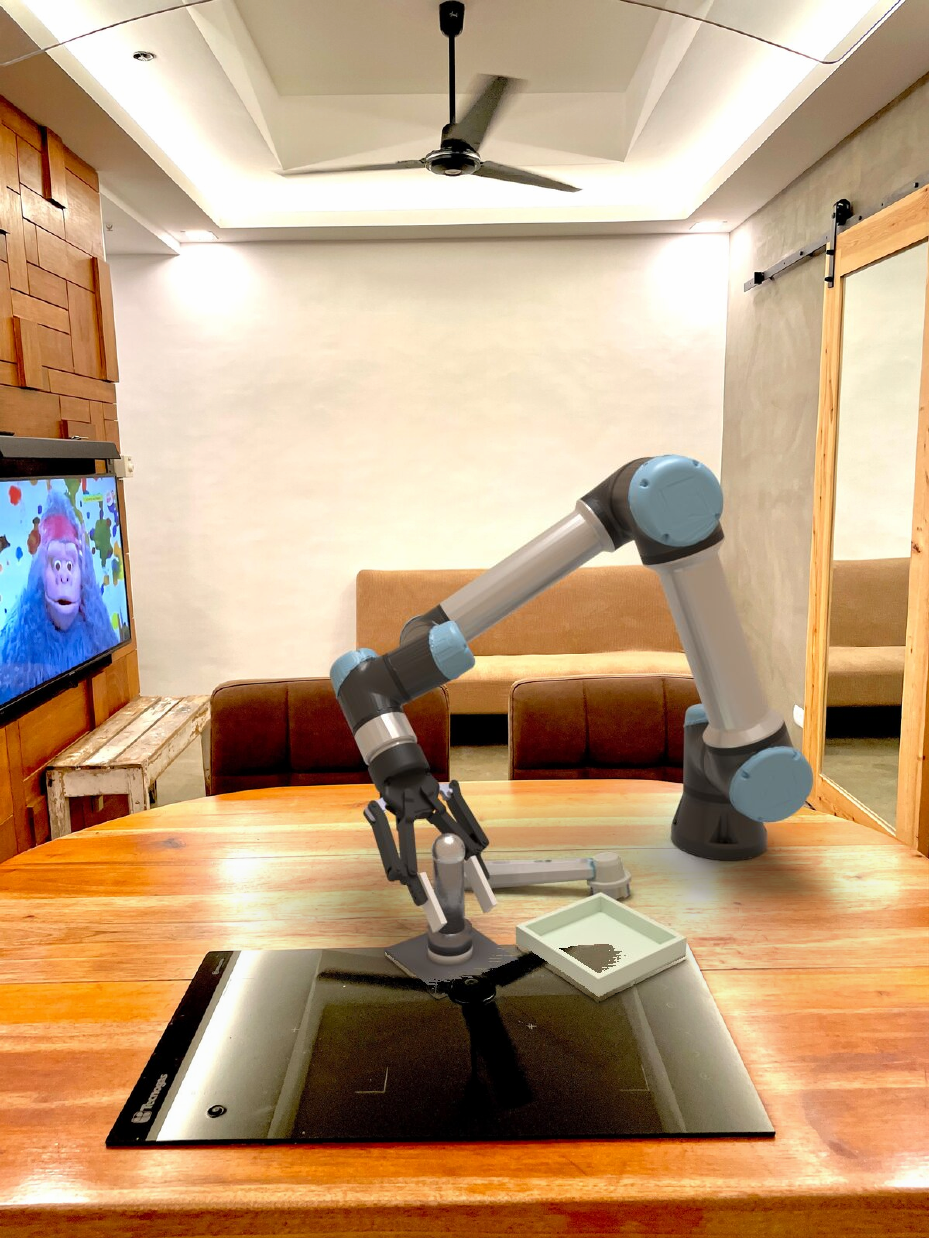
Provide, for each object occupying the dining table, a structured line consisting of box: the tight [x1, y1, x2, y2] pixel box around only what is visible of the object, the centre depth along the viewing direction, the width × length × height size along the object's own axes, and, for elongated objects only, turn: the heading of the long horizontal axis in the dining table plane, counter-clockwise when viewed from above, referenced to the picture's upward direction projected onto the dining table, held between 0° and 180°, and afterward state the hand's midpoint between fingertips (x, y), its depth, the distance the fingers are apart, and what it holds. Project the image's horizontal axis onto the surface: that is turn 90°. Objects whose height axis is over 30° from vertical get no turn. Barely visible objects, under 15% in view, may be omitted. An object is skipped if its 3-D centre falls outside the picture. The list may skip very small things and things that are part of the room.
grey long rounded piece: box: [464, 851, 632, 901], centre depth 127 cm, size 5×7×25 cm
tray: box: [515, 892, 687, 997], centre depth 110 cm, size 15×15×3 cm
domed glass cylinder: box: [426, 833, 473, 957], centre depth 108 cm, size 6×6×14 cm
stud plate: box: [384, 926, 519, 989], centre depth 109 cm, size 12×12×2 cm
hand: (465, 917), depth 105 cm, fingers open, 7 cm apart
